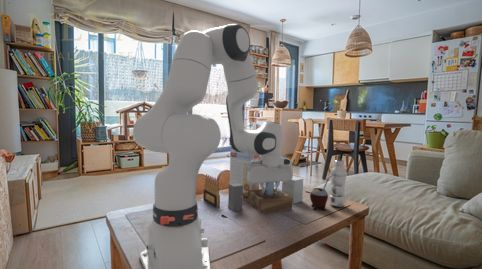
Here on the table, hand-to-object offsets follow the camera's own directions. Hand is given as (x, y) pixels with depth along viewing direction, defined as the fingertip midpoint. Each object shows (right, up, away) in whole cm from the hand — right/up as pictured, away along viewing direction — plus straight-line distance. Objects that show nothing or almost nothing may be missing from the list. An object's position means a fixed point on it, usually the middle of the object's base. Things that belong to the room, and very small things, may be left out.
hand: (269, 192), depth 112 cm
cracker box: (-11, -4, +15) cm, 19 cm away
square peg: (-14, -6, -4) cm, 16 cm away
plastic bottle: (+29, -7, +2) cm, 30 cm away
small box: (+11, -6, +8) cm, 15 cm away
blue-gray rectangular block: (0, -4, +1) cm, 4 cm away
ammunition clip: (-25, -5, +1) cm, 25 cm away
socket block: (0, -6, +1) cm, 6 cm away
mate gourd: (+21, -7, -1) cm, 22 cm away
